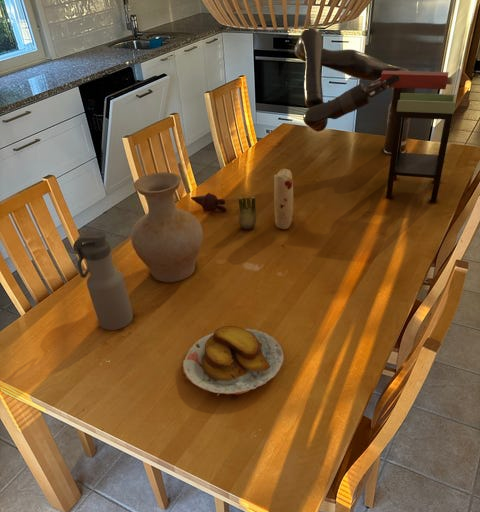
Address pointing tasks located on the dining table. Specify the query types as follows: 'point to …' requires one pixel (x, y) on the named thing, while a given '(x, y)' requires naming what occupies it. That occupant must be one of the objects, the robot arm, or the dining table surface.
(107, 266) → the water bottle
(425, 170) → the stand
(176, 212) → the vase
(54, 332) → the dining table surface
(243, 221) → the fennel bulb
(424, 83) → the red bar
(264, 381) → the food on plate
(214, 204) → the icecream
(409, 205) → the dining table surface
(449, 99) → the olive green shallow box
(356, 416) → the dining table surface
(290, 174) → the food model
